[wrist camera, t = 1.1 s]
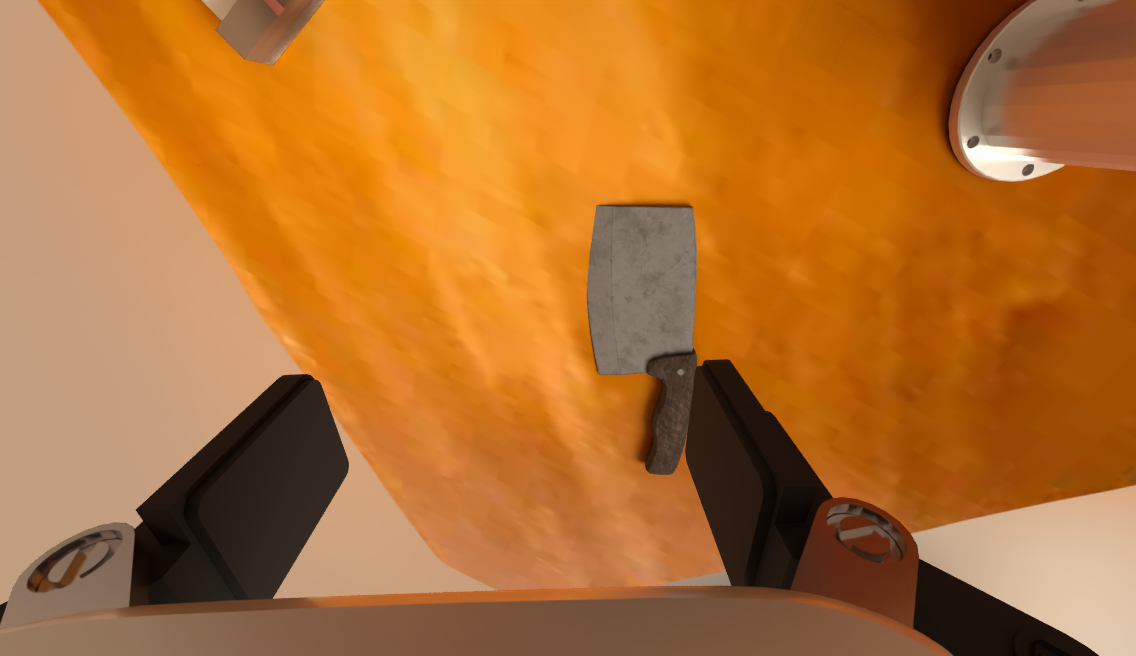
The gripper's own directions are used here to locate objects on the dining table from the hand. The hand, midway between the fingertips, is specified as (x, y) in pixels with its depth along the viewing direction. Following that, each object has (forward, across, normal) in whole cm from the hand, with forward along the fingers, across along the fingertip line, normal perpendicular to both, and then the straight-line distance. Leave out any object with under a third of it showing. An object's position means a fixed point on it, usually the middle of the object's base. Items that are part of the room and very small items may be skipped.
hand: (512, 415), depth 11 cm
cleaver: (+27, -9, +14) cm, 32 cm away
